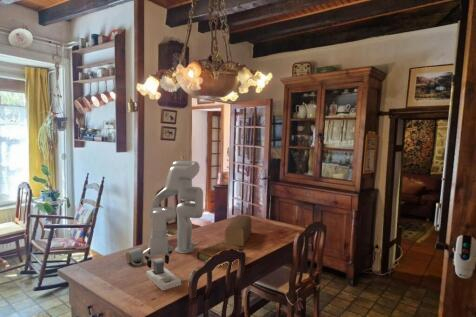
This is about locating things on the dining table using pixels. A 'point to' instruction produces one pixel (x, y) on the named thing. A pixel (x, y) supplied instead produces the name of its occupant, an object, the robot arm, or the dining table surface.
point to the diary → (215, 250)
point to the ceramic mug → (134, 256)
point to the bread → (238, 231)
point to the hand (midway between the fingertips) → (158, 265)
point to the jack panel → (164, 279)
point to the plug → (158, 266)
